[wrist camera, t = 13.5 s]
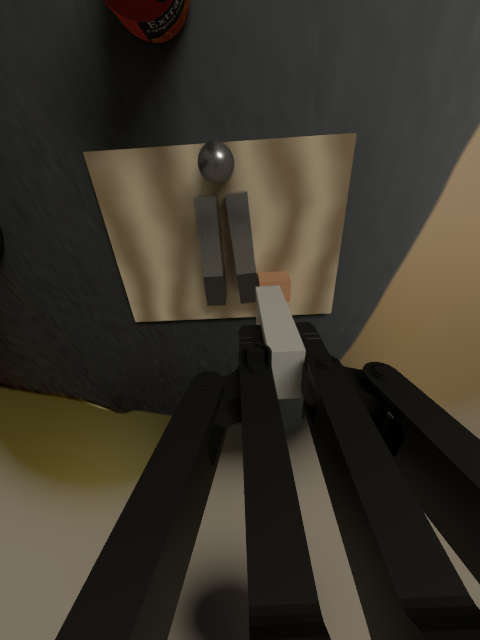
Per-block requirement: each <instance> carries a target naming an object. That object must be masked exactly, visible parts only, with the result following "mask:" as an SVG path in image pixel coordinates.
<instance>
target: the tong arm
mask: <svg viewBox="0 0 480 640" xmlns="http://www.w3.org/2000/svg"><path fill="white" fill-rule="evenodd" d="M225 199H226V205H227V212H228V219H229V226H230V232H231V239H232V246H233V252H234V259H235V266H236V272H237V275H236V276H237V282H238V289H239V295H240V302H241V304H244V303H253V302H256V287H258V282H257V273H256V266H255V258H254V249H253V240H252V231H251V221H250V212H249V203H248V194H247V190H244V191H238V192H231V193H226V195H225Z"/></svg>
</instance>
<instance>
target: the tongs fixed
mask: <svg viewBox="0 0 480 640" xmlns="http://www.w3.org/2000/svg"><path fill="white" fill-rule="evenodd" d="M198 168H199V171H200V173H201V175H202V176H203V177H204V178H205V179H206V180H207V181H209V182H211V183H222V182H225V181H227V180H228V179H229V178H230V177H231V176H232V174H233V172H234V169H235V160H234V157H233V154H232V152H231V151H230V149H229V148H228V146H226V145H225V144H224V143H222V142H220V141H210V142H208V143H206V144H205V145H204V146H203V147H202V148H201V150H200V152H199V154H198ZM193 200H194V208H195V215H196V222H197V230H198V237H199V245H200V252H201V259H202V267H203V274H204V277H203V278H204V285H205V293H206V300H207V306H218V305H226V301H227V283H226V272H225V265H224V254H223V243H222V232H221V220H220V209H219V198H218V194H211V195H198V196H196V197H194V198H193Z"/></svg>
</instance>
